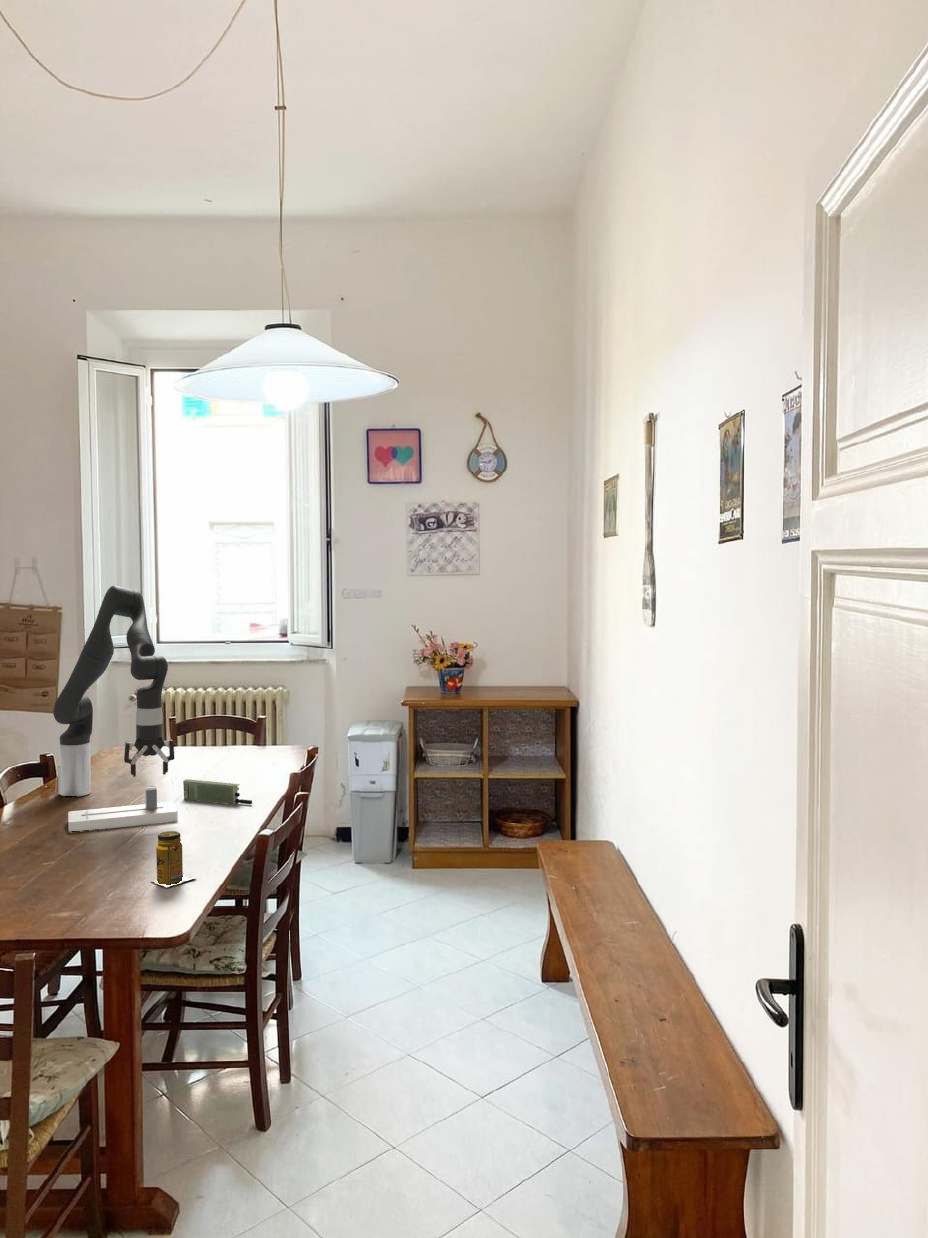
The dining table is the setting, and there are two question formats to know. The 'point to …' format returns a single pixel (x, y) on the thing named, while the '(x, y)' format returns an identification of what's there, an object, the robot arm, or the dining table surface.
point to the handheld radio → (212, 792)
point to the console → (121, 816)
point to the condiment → (169, 858)
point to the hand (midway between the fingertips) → (149, 775)
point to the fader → (150, 797)
